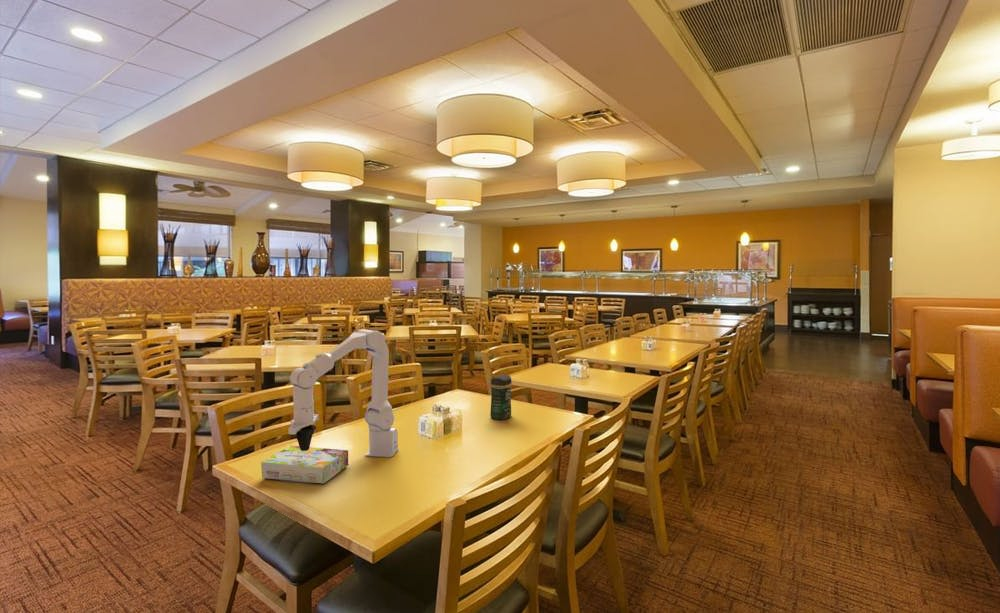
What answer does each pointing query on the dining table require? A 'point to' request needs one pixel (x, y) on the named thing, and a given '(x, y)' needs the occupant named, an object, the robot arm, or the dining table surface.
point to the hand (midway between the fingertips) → (304, 450)
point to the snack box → (305, 464)
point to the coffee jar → (501, 397)
